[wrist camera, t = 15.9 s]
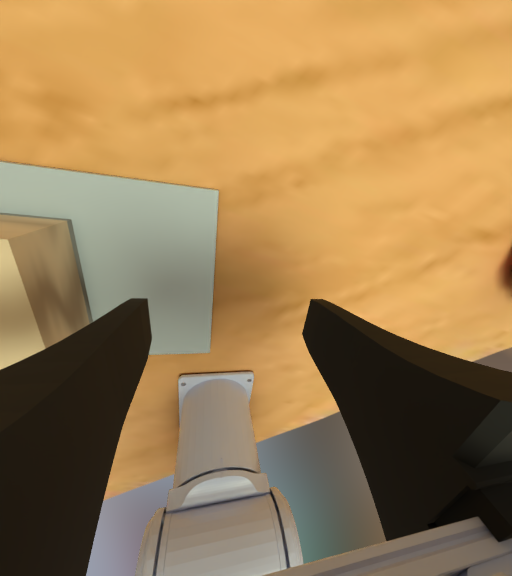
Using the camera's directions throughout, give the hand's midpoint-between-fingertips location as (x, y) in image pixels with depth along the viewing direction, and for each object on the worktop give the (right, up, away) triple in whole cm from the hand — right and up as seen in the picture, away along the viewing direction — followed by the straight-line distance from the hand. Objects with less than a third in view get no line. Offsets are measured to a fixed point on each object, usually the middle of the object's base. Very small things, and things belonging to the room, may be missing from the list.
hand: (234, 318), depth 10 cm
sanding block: (-13, +2, +5) cm, 14 cm away
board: (-12, +3, +7) cm, 14 cm away
